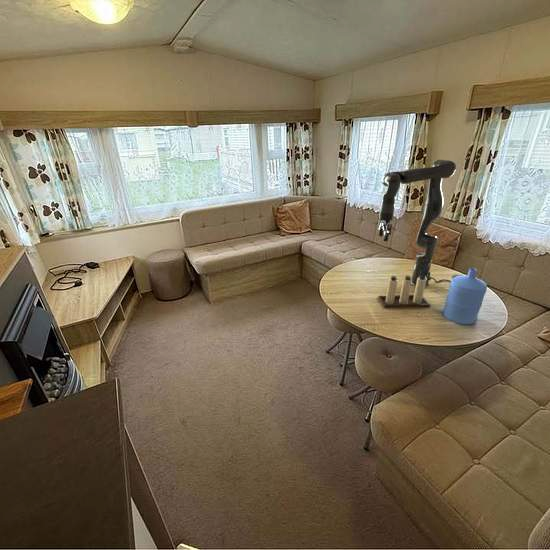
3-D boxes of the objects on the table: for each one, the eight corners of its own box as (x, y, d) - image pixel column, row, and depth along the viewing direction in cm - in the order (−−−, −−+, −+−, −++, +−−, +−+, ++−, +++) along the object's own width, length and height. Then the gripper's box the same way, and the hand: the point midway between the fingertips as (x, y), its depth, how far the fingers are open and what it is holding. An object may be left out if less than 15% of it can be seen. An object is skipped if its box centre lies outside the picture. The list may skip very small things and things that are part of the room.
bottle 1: (405, 300, 175) (410, 274, 167) (408, 304, 171) (414, 278, 163) (397, 300, 175) (402, 275, 167) (400, 304, 171) (405, 278, 163)
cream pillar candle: (392, 300, 175) (396, 275, 167) (394, 304, 171) (399, 278, 163) (384, 300, 175) (388, 275, 167) (386, 304, 171) (391, 279, 163)
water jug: (475, 328, 150) (492, 279, 137) (441, 319, 157) (453, 272, 145) (476, 313, 161) (491, 266, 149) (443, 306, 169) (456, 260, 157)
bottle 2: (419, 299, 175) (424, 274, 167) (422, 303, 171) (428, 278, 163) (411, 299, 175) (416, 274, 167) (414, 304, 171) (420, 278, 163)
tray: (421, 297, 178) (421, 294, 177) (429, 307, 168) (430, 304, 167) (378, 298, 178) (378, 295, 177) (384, 308, 168) (384, 305, 167)
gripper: (398, 214, 159) (393, 242, 166) (389, 207, 172) (385, 234, 179) (384, 214, 159) (380, 243, 166) (376, 208, 172) (372, 234, 179)
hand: (382, 238), depth 173 cm, fingers open, 8 cm apart
